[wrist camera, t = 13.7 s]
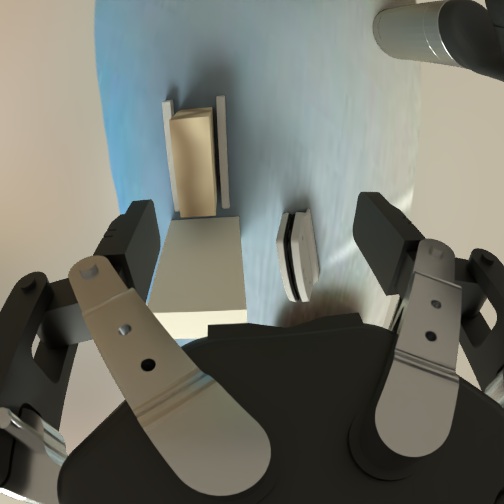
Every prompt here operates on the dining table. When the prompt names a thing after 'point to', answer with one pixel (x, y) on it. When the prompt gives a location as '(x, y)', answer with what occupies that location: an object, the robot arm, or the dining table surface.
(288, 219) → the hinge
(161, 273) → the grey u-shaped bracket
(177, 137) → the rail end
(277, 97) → the dining table surface
